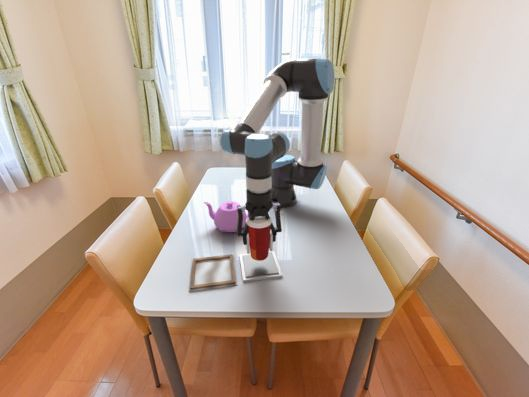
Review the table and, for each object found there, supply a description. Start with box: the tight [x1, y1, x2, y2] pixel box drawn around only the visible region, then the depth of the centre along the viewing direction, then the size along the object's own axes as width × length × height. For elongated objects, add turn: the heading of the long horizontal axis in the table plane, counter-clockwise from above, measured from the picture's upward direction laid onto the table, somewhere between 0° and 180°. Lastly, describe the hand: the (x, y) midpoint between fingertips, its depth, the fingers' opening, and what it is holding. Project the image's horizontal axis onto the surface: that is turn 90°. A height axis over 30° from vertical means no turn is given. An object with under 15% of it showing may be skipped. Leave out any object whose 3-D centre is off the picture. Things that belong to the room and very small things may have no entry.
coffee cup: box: [246, 214, 273, 261], centre depth 87 cm, size 8×8×15 cm
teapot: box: [203, 200, 249, 234], centre depth 112 cm, size 20×14×12 cm
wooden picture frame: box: [188, 253, 238, 292], centre depth 90 cm, size 15×15×1 cm
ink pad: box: [239, 250, 283, 283], centre depth 92 cm, size 13×13×1 cm
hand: (259, 250), depth 89 cm, fingers closed on coffee cup, 7 cm apart
